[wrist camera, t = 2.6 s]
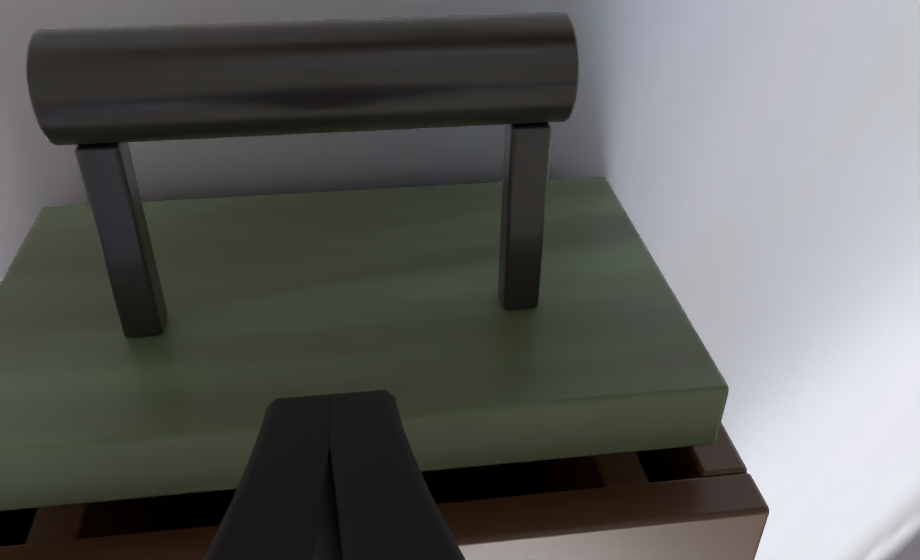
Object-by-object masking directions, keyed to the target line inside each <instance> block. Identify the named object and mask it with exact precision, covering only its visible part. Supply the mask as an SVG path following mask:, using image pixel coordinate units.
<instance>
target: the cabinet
mask: <svg viewBox="0 0 920 560" xmlns="http://www.w3.org/2000/svg"><path fill="white" fill-rule="evenodd" d="M637 454H638V456H639V459H640V461H641V464H642V466H643V468H644V471H645V473H646V476H647V478H648V480H649V483H640V484H630V485H620V486H609V487H599V488H589V489H579V490H569V491H559V492H549V493H538V494H528V495H518V496H508V497H498V498H488V499H477V500H467V501H457V502H447V503H437V504H436V505H437V507H438V509H439V511H440V513H441V514H442V516H443V518H444V520H445V522H446V524H447V526H448V528H449V530H450V532H451V534H452V535H453V537H454V539H455V541H456V543H457V545H458V547H459V549H460V550H461V552H462V554H463V556H464V557H465V559H466V560H754V558H755V555H756V552H757V549H758V546H759V542H760V539H761V536H762V533H763V530H764V527H765V524H766V520H767V517H768V514H769V508H768V506H767V504H766V502H765V500H764V498H763V497H762V495H761V493H760V491H759V489H758V488H757V486H756V484H755V482H754V480H753V479H752V477H751V475H750V474H747V469H746V466H745V465H744V463H743V461H742V459H741V457H740V456H739V454H738V452H737V450H736V448H735V446H734V445H733V443H732V441H731V439H730V437H729V436H728V434H727V432H726V430H725V428H724V427H723V425H722V423H721V424H720V428H719V432H718V436H717V440H716V442H715V443H714V444H711V445H700V446H690V447H679V448H669V449H658V450H647V451H637ZM36 510H37V508H29V509H19V510H8V511H0V560H203V559H204V557H205V555H206V553H207V551H208V549H209V547H210V545H211V543H212V541H213V538H214V536H215V534H216V532H217V530H218V528H219V526H220V525H213V526H203V527H193V528H183V529H173V530H162V531H152V532H142V533H132V534H122V535H112V536H101V537H91V538H81V539H71V540H61V541H51V542H40V543H30V544H25V542H26V539H27V536H28V533H29V530H30V527H31V525H32V522H33V519H34V516H35V513H36Z"/></svg>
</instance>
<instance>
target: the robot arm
mask: <svg viewBox="0 0 920 560" xmlns="http://www.w3.org/2000/svg"><path fill="white" fill-rule="evenodd" d="M203 560H466V559H465V557H464V556H463V554H462V552H461V550H460V549H459V547H458V545H457V543H456V541H455V539H454V537H453V535H452V534H451V532H450V530H449V528H448V526H447V524H446V522H445V520H444V518H443V516H442V514H441V513H440V511H439V509H438V507H437V505H436V503H435V501H434V499H433V497H432V495H431V493H430V491H429V489H428V486H427V484H426V482H425V480H424V478H423V476H422V473H421V471H420V469H419V466H418V464H417V462H416V459H415V457H414V455H413V452H412V450H411V447H410V445H409V442H408V439H407V437H406V434H405V431H404V428H403V425H402V422H401V418H400V415H399V412H398V408H397V403H396V397H395V396H393V395H392V394H391V393H389V392H388V391H386V390H376V391H364V392H352V393H340V394H327V395H315V396H303V397H291V398H278V399H275V400H274V401H273V402H272V403H271V404H270V405H269V406H268V407H267V408H266V412H265V415H264V419H263V422H262V425H261V428H260V431H259V434H258V437H257V440H256V443H255V445H254V448H253V451H252V453H251V456H250V458H249V461H248V463H247V466H246V468H245V471H244V473H243V475H242V478H241V480H240V483H239V485H238V487H237V490H236V492H235V494H234V497H233V499H232V501H231V503H230V505H229V507H228V509H227V511H226V514H225V516H224V518H223V520H222V522H221V524H220V526H219V528H218V530H217V532H216V534H215V536H214V538H213V541H212V543H211V545H210V547H209V549H208V551H207V553H206V555H205V557H204V559H203Z"/></svg>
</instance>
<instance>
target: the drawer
mask: <svg viewBox="0 0 920 560" xmlns="http://www.w3.org/2000/svg"><path fill="white" fill-rule="evenodd" d="M26 73H27V84H28V91H29V96H30V101H31V105H32V109H33V112H34V115H35V118H36V120H37V123H38V125H39V127H40V129H41V131H42V133H43V135H44V136H45V138H46V139H47V140H48V141H49V142H51V143H52V144H55V145H77V146H76V147H75V151H74V152H75V156H76V160H77V163H78V167H79V171H80V175H81V178H82V182H83V186H84V189H85V193H86V197H87V200H88V204H89V205H73V206H55V207H44V208H42V209H41V211H40V212H39V214H38V216H37V218H36V220H35V222H34V223H33V225H32V227H31V229H30V231H29V232H28V234H27V236H26V238H25V240H24V242H23V243H22V245H21V247H20V249H19V251H18V253H17V254H16V256H15V258H14V260H13V262H12V264H11V265H10V267H9V269H8V271H7V273H6V275H5V276H4V278H3V280H2V282H1V284H0V511H8V510H19V509H29V508H37V510H36V513H35V516H34V519H33V522H32V525H31V527H30V530H29V533H28V536H27V539H26V542H25V544H30V543H40V542H51V541H61V540H71V539H81V538H91V537H101V536H112V535H122V534H132V533H142V532H152V531H162V530H173V529H183V528H193V527H203V526H213V525H220V524H221V522H222V520H223V518H224V516H225V514H226V511H227V509H228V507H229V505H230V503H231V501H232V499H233V497H234V494H235V492H236V490H237V487H238V485H239V483H240V480H241V478H242V475H243V473H244V471H245V468H246V466H247V463H248V461H249V458H250V456H251V453H252V451H253V448H254V445H255V443H256V440H257V437H258V434H259V431H260V428H261V425H262V422H263V419H264V415H265V412H266V408H267V407H268V406H269V405H270V404H271V403H272V402H273V401H274V400H275V399H278V398H291V397H303V396H315V395H327V394H340V393H352V392H364V391H376V390H386V391H388V392H389V393H391V394H392V395H393V396H395V397H396V403H397V408H398V412H399V415H400V418H401V422H402V425H403V428H404V431H405V434H406V437H407V439H408V442H409V445H410V447H411V450H412V452H413V455H414V457H415V459H416V462H417V464H418V466H419V469H420V471H421V473H422V476H423V478H424V480H425V482H426V484H427V486H428V489H429V491H430V493H431V495H432V497H433V499H434V501H435V503H436V504H437V503H447V502H457V501H467V500H477V499H488V498H498V497H508V496H518V495H528V494H538V493H549V492H559V491H569V490H579V489H589V488H599V487H609V486H620V485H630V484H640V483H649V480H648V478H647V476H646V473H645V471H644V468H643V466H642V464H641V461H640V459H639V456H638V454H637V451H647V450H658V449H669V448H679V447H690V446H700V445H711V444H714V443H715V442H716V440H717V436H718V432H719V428H720V424H721V419H722V415H723V411H724V407H725V403H726V399H727V395H728V391H729V388H728V385H727V383H726V382H725V380H724V378H723V376H722V375H721V373H720V371H719V370H718V368H717V366H716V365H715V363H714V361H713V360H712V358H711V356H710V354H709V353H708V351H707V349H706V348H705V346H704V344H703V343H702V341H701V339H700V338H699V336H698V334H697V332H696V331H695V329H694V327H693V326H692V324H691V322H690V321H689V319H688V317H687V315H686V314H685V312H684V310H683V309H682V307H681V305H680V304H679V302H678V300H677V299H676V297H675V295H674V293H673V292H672V290H671V288H670V287H669V285H668V283H667V282H666V280H665V278H664V277H663V275H662V273H661V271H660V270H659V268H658V266H657V265H656V263H655V261H654V260H653V258H652V256H651V254H650V253H649V251H648V249H647V248H646V246H645V244H644V243H643V241H642V239H641V238H640V236H639V234H638V232H637V231H636V229H635V227H634V226H633V224H632V222H631V221H630V219H629V217H628V215H627V214H626V212H625V210H624V209H623V207H622V205H621V204H620V202H619V200H618V199H617V197H616V195H615V193H614V192H613V190H612V188H611V187H610V185H609V183H608V182H607V180H606V178H605V177H602V176H599V177H581V178H563V179H548V172H549V159H550V146H551V133H552V128H551V125H550V124H549V122H564V121H566V120H568V119H569V118H570V117H571V115H572V113H573V110H574V107H575V103H576V99H577V92H578V82H579V54H578V44H577V37H576V32H575V28H574V25H573V22H572V20H571V18H570V16H569V15H568V14H567V13H564V12H547V13H516V14H485V15H454V16H423V17H392V18H360V19H329V20H298V21H267V22H236V23H205V24H174V25H142V26H111V27H80V28H49V29H39V30H37V31H35V32H34V33H33V34H32V36H31V38H30V40H29V44H28V49H27V59H26ZM503 124H505V136H504V159H503V182H490V183H472V184H454V185H436V186H418V187H399V188H381V189H363V190H345V191H327V192H309V193H291V194H273V195H254V196H236V197H218V198H200V199H182V200H164V201H146V202H142V201H141V196H140V192H139V188H138V183H137V179H136V175H135V170H134V166H133V162H132V157H131V153H130V149H129V144H128V142H144V141H165V140H186V139H207V138H228V137H249V136H270V135H292V134H313V133H334V132H355V131H376V130H397V129H418V128H440V127H461V126H482V125H503Z"/></svg>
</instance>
